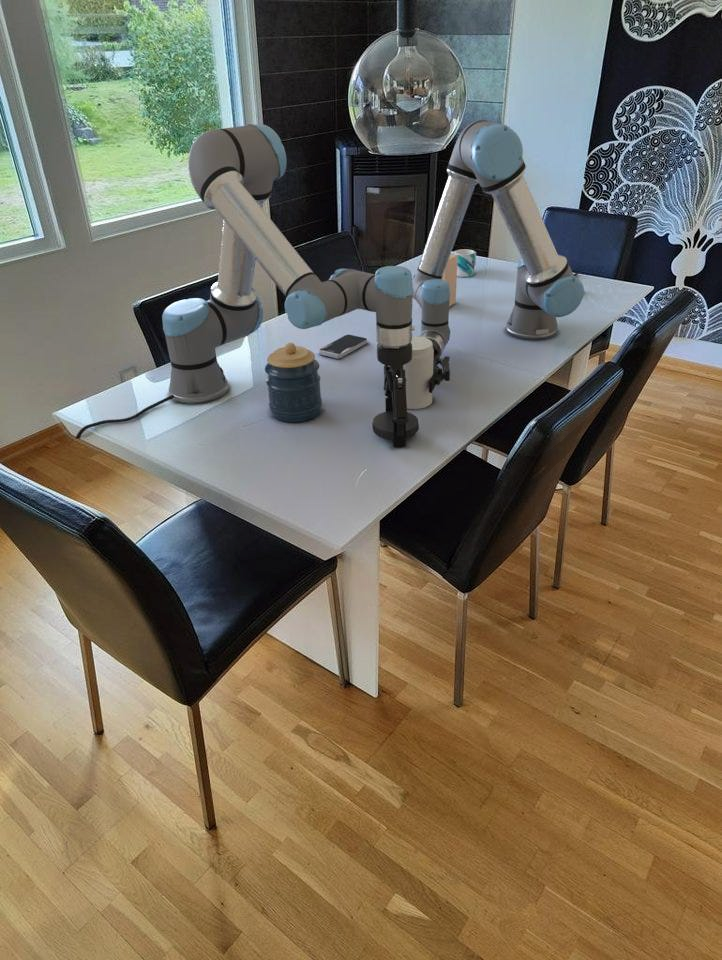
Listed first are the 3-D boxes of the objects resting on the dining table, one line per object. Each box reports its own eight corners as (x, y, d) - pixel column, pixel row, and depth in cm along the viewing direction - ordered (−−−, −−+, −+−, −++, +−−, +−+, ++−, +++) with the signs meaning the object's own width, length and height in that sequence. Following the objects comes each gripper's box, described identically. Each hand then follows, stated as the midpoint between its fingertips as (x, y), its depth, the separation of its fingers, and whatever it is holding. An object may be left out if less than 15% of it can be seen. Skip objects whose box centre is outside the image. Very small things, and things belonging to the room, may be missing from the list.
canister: (275, 426, 159) (266, 357, 150) (266, 403, 170) (257, 337, 160) (328, 418, 162) (323, 349, 153) (316, 396, 173) (310, 330, 163)
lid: (385, 414, 160) (384, 407, 159) (425, 423, 155) (426, 415, 154) (364, 434, 152) (364, 426, 151) (406, 443, 148) (406, 435, 146)
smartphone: (368, 338, 202) (338, 355, 192) (368, 342, 203) (339, 359, 192) (347, 334, 206) (317, 350, 195) (347, 338, 206) (317, 354, 196)
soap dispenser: (444, 310, 225) (446, 242, 213) (422, 306, 229) (423, 239, 217) (461, 299, 234) (464, 233, 222) (439, 295, 238) (440, 231, 226)
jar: (440, 401, 168) (442, 343, 160) (411, 412, 163) (412, 353, 155) (414, 389, 175) (415, 333, 166) (386, 400, 170) (386, 342, 161)
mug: (449, 275, 259) (450, 253, 254) (462, 267, 267) (463, 245, 262) (469, 277, 255) (470, 255, 250) (481, 269, 263) (483, 247, 259)
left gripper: (422, 362, 133) (421, 457, 145) (402, 323, 152) (402, 410, 164) (385, 365, 132) (386, 460, 144) (369, 325, 152) (372, 413, 164)
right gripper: (468, 367, 179) (454, 404, 161) (387, 360, 185) (366, 395, 167) (469, 340, 175) (456, 375, 157) (387, 334, 181) (365, 367, 163)
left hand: (395, 434), depth 154 cm, fingers closed on lid, 10 cm apart
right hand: (409, 385), depth 162 cm, fingers closed on jar, 9 cm apart
